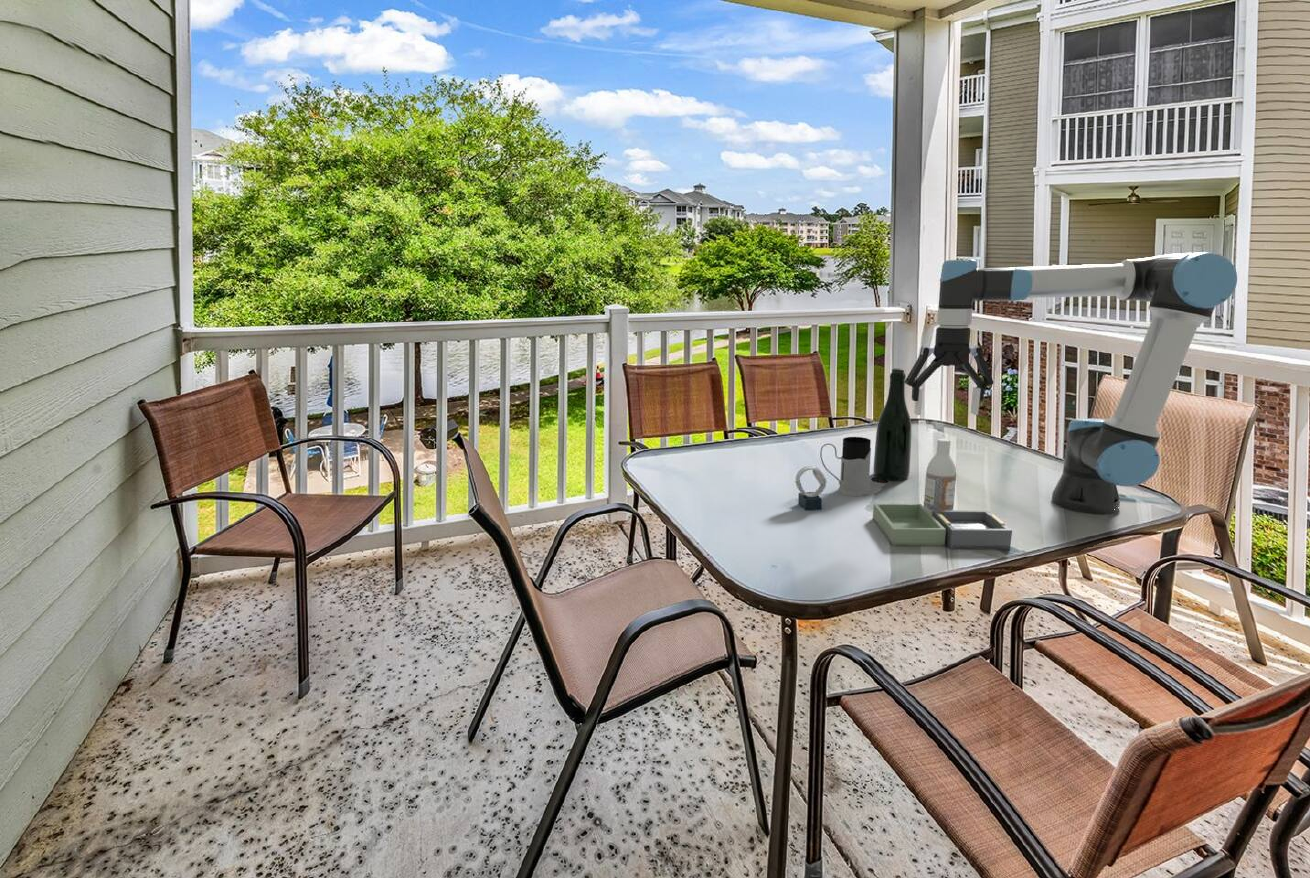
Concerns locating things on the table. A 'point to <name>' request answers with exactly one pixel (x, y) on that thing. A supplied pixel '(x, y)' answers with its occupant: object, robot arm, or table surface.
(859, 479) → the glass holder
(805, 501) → the watch
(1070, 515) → the table surface
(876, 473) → the wine bottle
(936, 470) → the bath foam
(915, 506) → the green tray
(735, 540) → the table surface
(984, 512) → the gray square tray
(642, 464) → the table surface
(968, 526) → the plate
